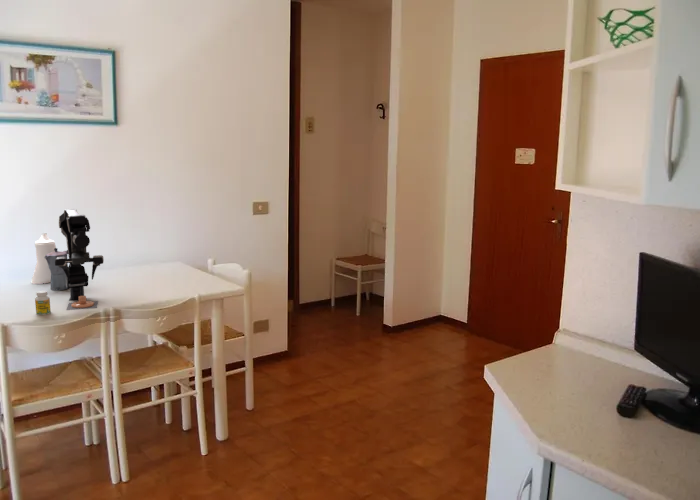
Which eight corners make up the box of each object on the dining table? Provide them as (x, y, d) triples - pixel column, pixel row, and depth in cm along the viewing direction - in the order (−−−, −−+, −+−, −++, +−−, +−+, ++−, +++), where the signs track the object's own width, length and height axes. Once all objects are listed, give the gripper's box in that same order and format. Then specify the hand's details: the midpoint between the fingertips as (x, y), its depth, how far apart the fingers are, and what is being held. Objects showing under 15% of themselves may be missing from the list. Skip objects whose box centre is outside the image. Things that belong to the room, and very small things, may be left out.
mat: (68, 304, 264) (68, 302, 264) (98, 302, 268) (98, 300, 268) (66, 311, 253) (66, 310, 253) (97, 309, 257) (97, 307, 257)
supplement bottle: (49, 311, 252) (48, 289, 250) (51, 315, 247) (50, 292, 246) (35, 313, 249) (33, 291, 247) (37, 316, 244) (35, 294, 243)
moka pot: (40, 290, 286) (37, 249, 282) (66, 283, 300) (64, 244, 297) (55, 292, 282) (52, 251, 279) (80, 285, 297) (78, 246, 293)
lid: (72, 303, 263) (71, 294, 262) (94, 302, 266) (94, 293, 265) (70, 308, 255) (70, 299, 254) (93, 307, 258) (93, 298, 257)
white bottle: (50, 278, 311) (47, 230, 306) (61, 281, 305) (58, 232, 300) (27, 282, 301) (23, 233, 297) (38, 285, 295) (34, 235, 291)
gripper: (52, 248, 245) (54, 285, 248) (101, 246, 251) (103, 283, 254) (55, 244, 255) (57, 279, 258) (102, 242, 261) (104, 277, 264)
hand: (80, 280), depth 258 cm, fingers open, 9 cm apart
